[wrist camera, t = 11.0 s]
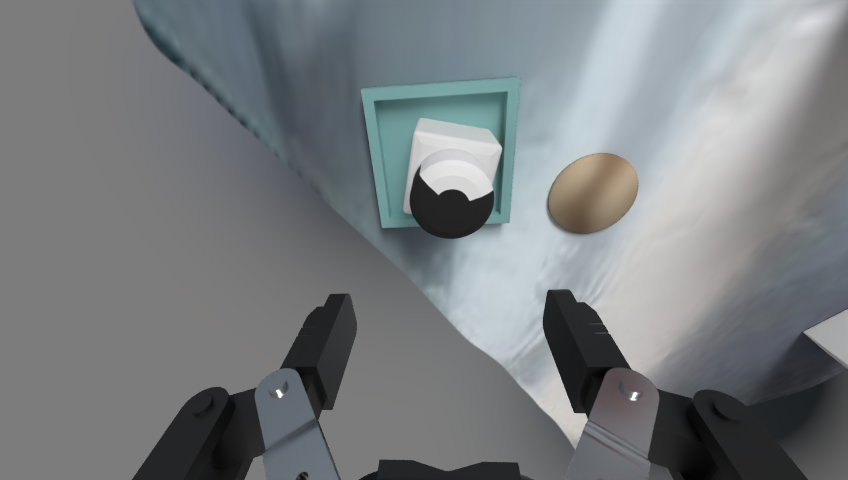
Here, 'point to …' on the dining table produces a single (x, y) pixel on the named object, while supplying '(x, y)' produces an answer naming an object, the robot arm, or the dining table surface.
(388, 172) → the tray
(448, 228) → the medicine bottle
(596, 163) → the cork coaster
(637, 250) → the dining table surface
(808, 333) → the milk
